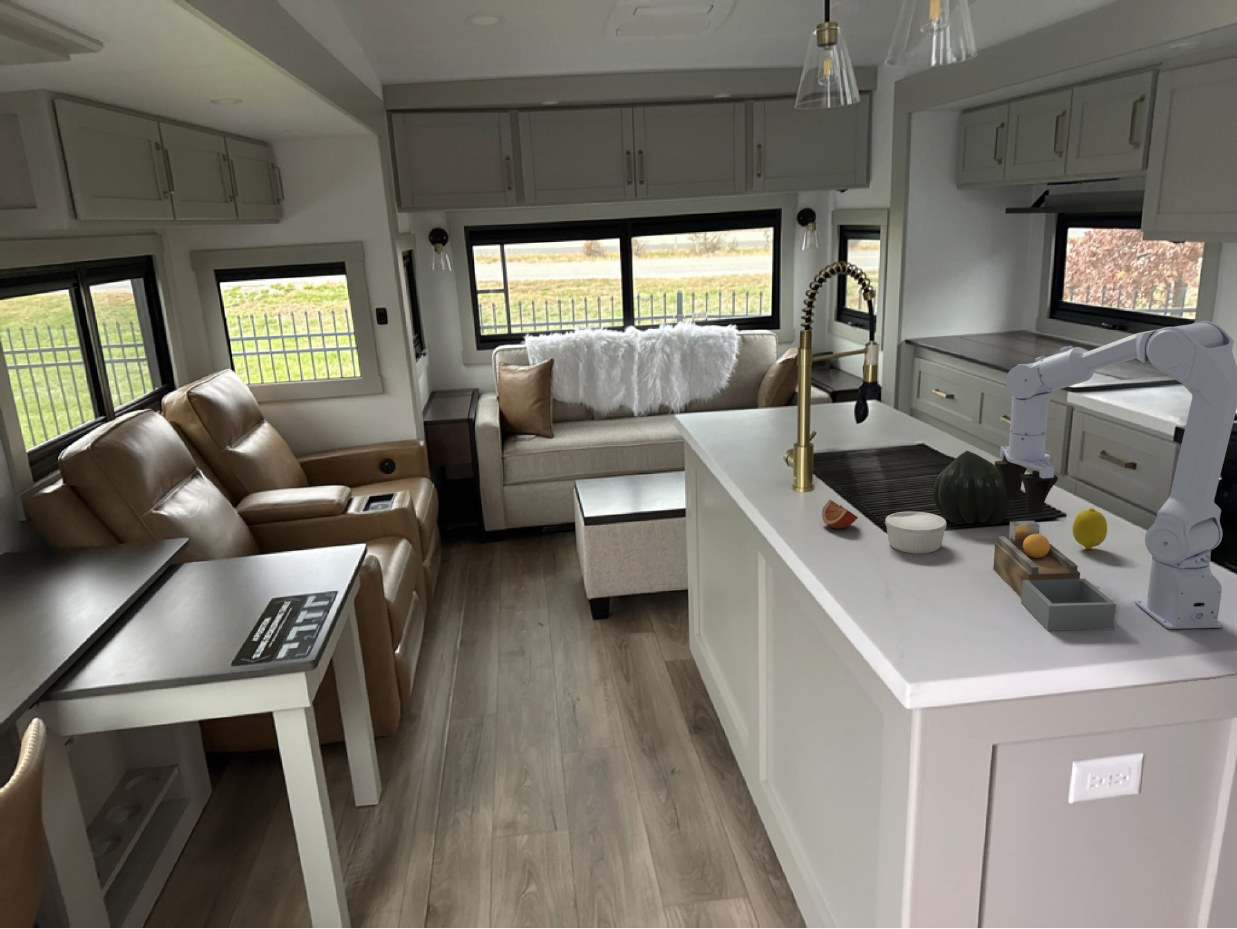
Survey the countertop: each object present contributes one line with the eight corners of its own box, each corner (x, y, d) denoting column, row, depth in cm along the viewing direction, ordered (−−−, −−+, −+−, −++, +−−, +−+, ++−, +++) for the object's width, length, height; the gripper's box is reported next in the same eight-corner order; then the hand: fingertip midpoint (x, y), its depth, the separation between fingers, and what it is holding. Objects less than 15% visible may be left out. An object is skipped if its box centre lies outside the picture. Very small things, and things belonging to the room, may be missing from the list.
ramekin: (918, 531, 167) (919, 507, 165) (958, 549, 157) (960, 523, 155) (872, 541, 163) (873, 516, 162) (910, 560, 153) (911, 533, 152)
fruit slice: (816, 522, 176) (816, 500, 174) (845, 518, 177) (845, 496, 176) (833, 535, 168) (833, 511, 166) (863, 531, 169) (864, 508, 168)
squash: (1007, 513, 158) (1013, 444, 164) (925, 508, 165) (933, 442, 171) (1011, 541, 169) (1016, 475, 175) (934, 535, 177) (941, 472, 182)
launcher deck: (1077, 601, 133) (1080, 565, 131) (1026, 603, 133) (1028, 567, 132) (1039, 567, 146) (1042, 535, 144) (993, 569, 147) (995, 536, 145)
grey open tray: (1113, 628, 123) (1116, 604, 122) (1047, 630, 124) (1049, 606, 123) (1082, 601, 133) (1084, 578, 132) (1021, 603, 133) (1022, 580, 132)
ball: (1053, 561, 136) (1055, 538, 135) (1028, 562, 137) (1029, 539, 136) (1042, 552, 140) (1044, 530, 139) (1018, 553, 140) (1019, 530, 139)
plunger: (1038, 547, 142) (1039, 525, 141) (1014, 548, 142) (1015, 526, 141) (1032, 542, 144) (1033, 520, 143) (1008, 543, 144) (1010, 521, 143)
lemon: (1109, 555, 150) (1114, 513, 148) (1076, 554, 151) (1080, 513, 149) (1099, 544, 155) (1103, 503, 153) (1066, 543, 156) (1070, 503, 154)
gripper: (1074, 440, 137) (1067, 517, 140) (1028, 421, 151) (1023, 492, 154) (1032, 442, 136) (1026, 520, 140) (990, 424, 150) (986, 494, 154)
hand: (1022, 505), depth 147 cm, fingers open, 7 cm apart
